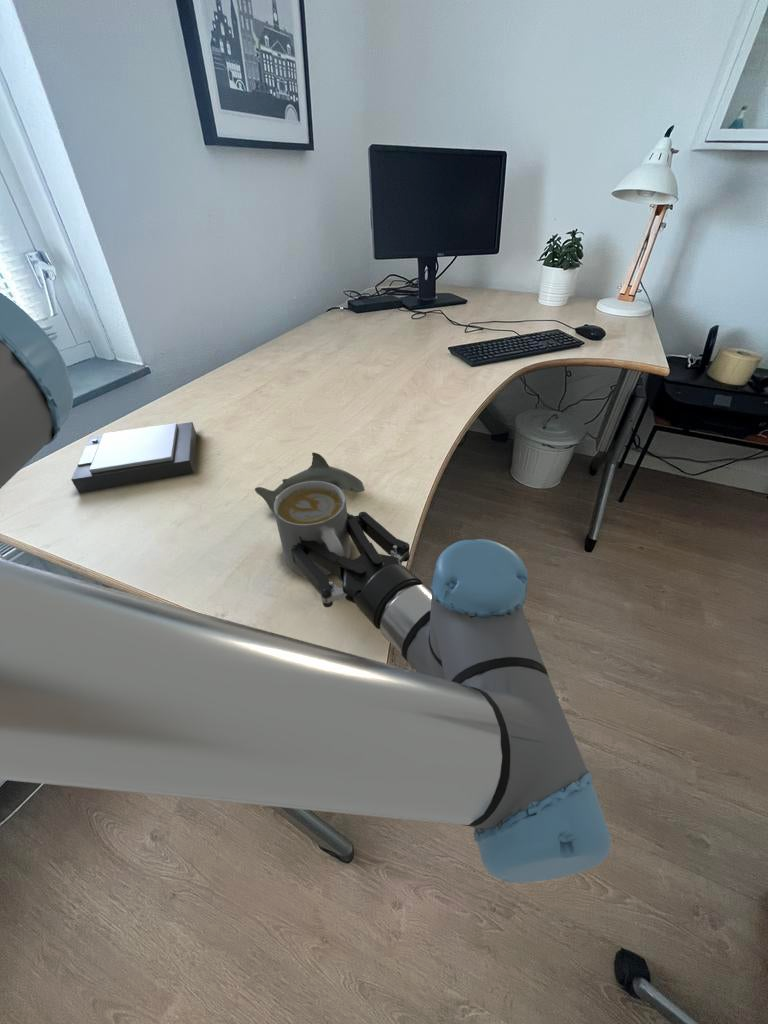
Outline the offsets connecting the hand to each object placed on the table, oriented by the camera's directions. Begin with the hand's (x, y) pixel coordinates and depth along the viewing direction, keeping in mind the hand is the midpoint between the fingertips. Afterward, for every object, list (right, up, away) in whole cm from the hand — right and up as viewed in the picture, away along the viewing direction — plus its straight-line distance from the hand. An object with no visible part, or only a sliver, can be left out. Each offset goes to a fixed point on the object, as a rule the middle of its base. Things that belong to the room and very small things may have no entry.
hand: (303, 509), depth 65 cm
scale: (-36, +10, +22) cm, 44 cm away
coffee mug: (+3, -8, 0) cm, 8 cm away
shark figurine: (+1, +3, +13) cm, 13 cm away
